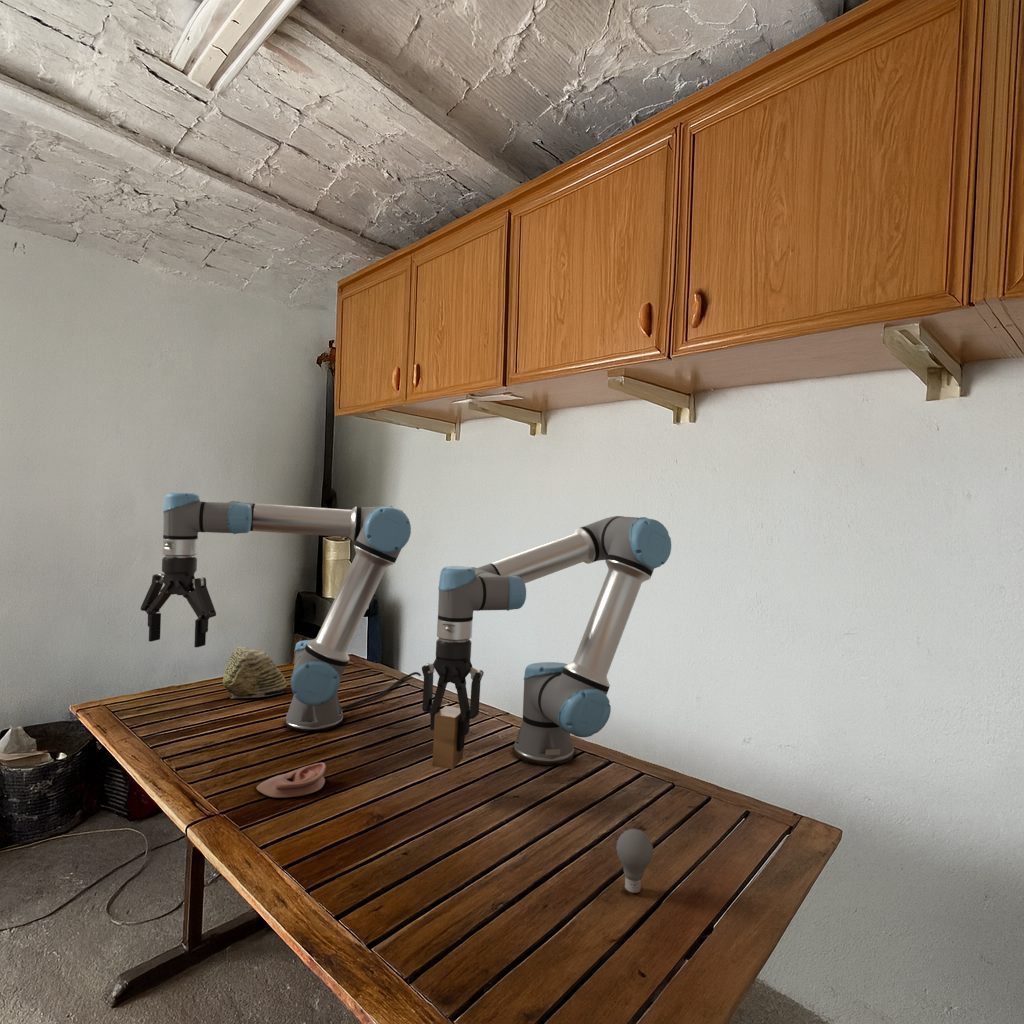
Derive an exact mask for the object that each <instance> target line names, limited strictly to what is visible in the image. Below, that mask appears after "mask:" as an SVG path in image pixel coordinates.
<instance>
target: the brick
mask: <svg viewBox="0 0 1024 1024" xmlns="http://www.w3.org/2000/svg"><path fill="white" fill-rule="evenodd" d="M460 718H461V712H460V707H455V706H449V705H445V706H444V707H442V708H440V711H439V712H438V713H436V714H435V722H434V730H433V738H434V742H433V741H432V763H431V764H432V765H431V766H432V767H435V768H441V769H446V770H454V769H455V768H456V767H457V766H458V765H459V764H460V762H462V760H463V759H464V748H463V749H462V750H461V751H457V731H458V720H459V719H460Z"/></svg>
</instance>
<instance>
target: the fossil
mask: <svg viewBox="0 0 1024 1024" xmlns="http://www.w3.org/2000/svg"><path fill="white" fill-rule="evenodd" d="M222 676H223V677H222V685H223V687H224V688H225V690H226V691H228V693H229V698H230V699H250V698H264V697H271V696H275V695H281V694H284V693H285V691H286V689H287V687H288V686H287V680H286V678H285V676H284V674H283V673H282V672H281V669H279V668H278V667H277V665H276V663H275V662H274V660H273V659H272V658H271V657H270V656H269V655H268V654H267V653H266V652H265V650H264V649H263V648H260V647H258V648H251V647H247V646H246V647H245V646H238V647H237V648H236V649H235V650H233V651H232V653H231V656H230V657H229V659H228V660H227V663H226V666H225V668H224V671H223V675H222Z"/></svg>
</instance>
